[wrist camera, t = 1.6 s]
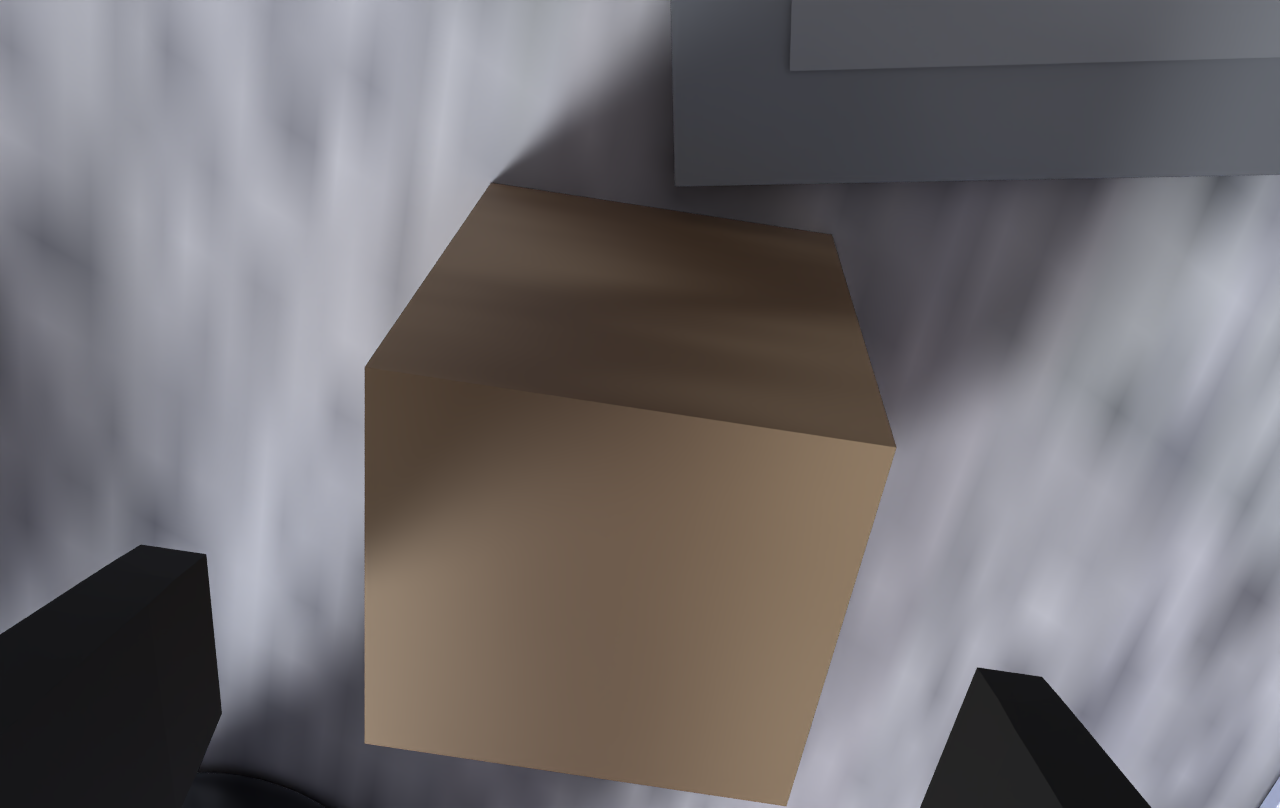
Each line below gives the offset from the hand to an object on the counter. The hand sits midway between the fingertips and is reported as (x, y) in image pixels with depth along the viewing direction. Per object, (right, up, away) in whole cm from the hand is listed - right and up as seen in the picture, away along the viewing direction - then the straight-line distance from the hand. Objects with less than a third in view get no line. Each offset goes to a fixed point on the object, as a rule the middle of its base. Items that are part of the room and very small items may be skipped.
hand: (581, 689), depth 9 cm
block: (+1, +3, +6) cm, 7 cm away
